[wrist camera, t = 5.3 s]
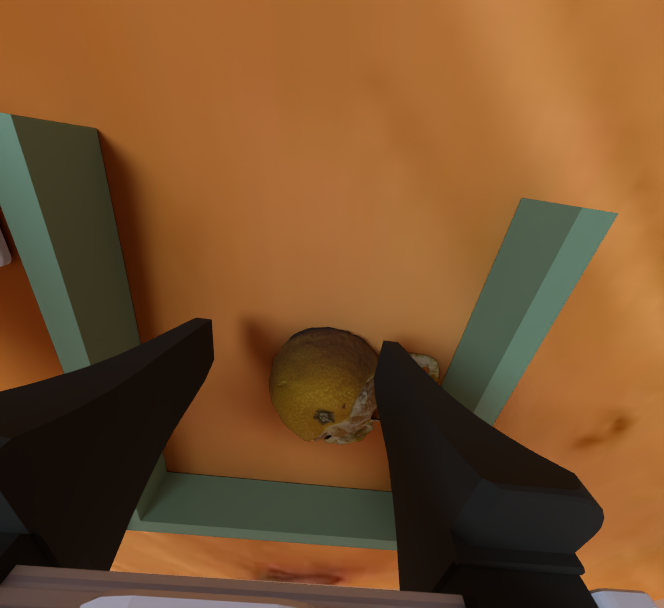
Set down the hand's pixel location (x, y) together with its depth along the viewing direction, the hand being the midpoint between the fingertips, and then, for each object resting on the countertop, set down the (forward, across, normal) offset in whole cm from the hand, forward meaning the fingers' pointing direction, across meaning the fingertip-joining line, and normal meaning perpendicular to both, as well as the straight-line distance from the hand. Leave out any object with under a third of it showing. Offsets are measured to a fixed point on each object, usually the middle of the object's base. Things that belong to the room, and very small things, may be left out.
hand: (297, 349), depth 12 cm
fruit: (+3, -3, +4) cm, 6 cm away
